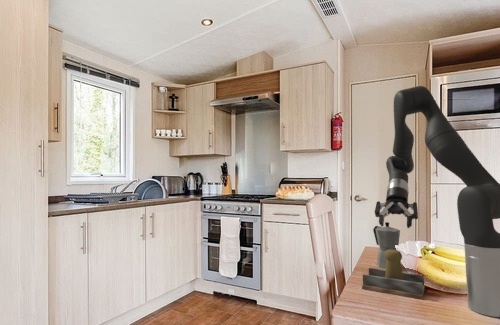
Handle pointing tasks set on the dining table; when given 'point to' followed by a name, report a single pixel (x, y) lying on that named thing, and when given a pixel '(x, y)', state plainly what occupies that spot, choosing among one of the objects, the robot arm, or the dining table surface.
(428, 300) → the dining table surface
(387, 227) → the coffeepot
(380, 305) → the dining table surface
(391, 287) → the walnut track
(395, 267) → the olive waisted cylinder
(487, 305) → the robot arm
